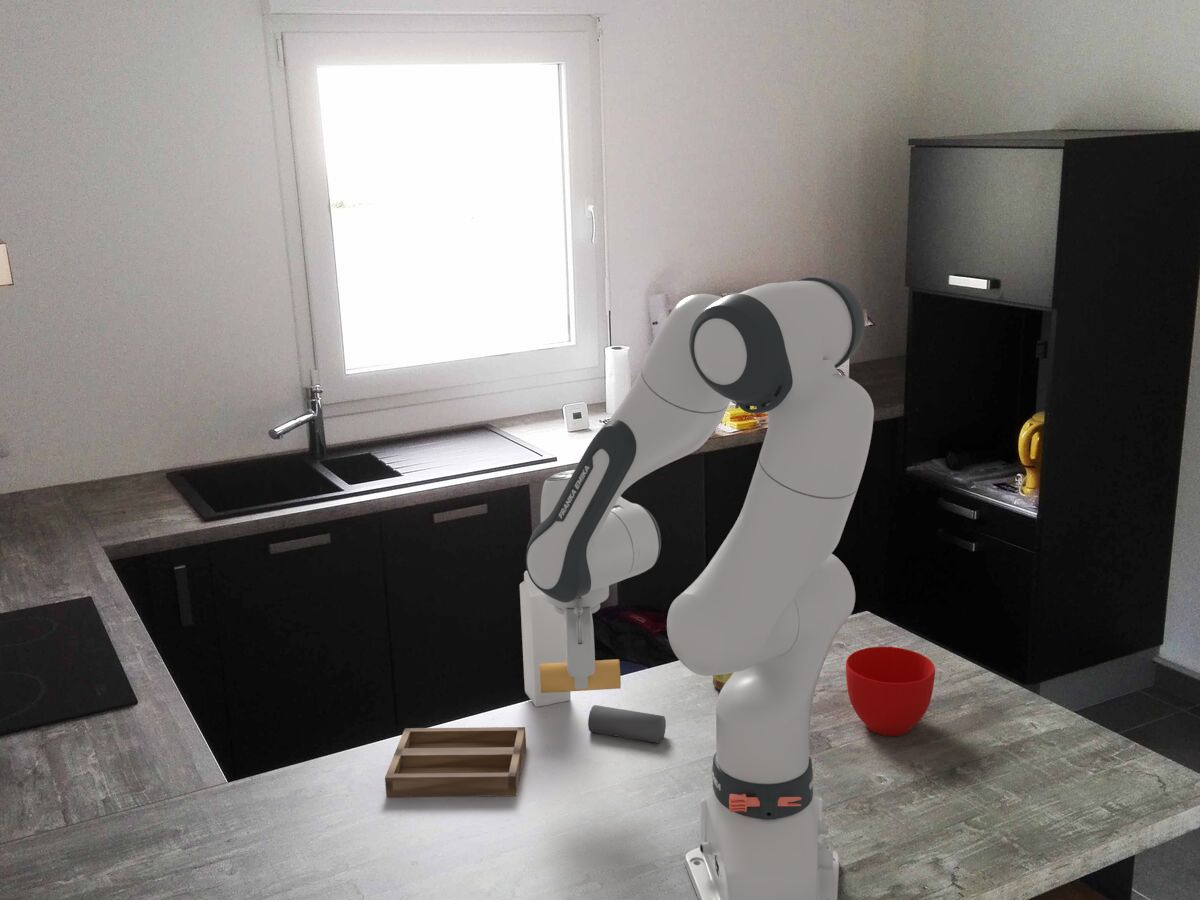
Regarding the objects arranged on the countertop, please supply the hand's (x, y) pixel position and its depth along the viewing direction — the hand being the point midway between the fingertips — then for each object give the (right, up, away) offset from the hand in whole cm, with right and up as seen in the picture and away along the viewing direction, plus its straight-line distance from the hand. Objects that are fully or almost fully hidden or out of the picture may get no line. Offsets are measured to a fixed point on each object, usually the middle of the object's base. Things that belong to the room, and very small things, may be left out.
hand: (580, 678), depth 162 cm
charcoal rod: (+6, -10, +12) cm, 17 cm away
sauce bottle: (+24, -7, +29) cm, 39 cm away
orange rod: (0, -1, +1) cm, 2 cm away
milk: (-6, -8, +27) cm, 29 cm away
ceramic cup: (+47, -10, +16) cm, 51 cm away
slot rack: (-18, -14, +5) cm, 23 cm away
